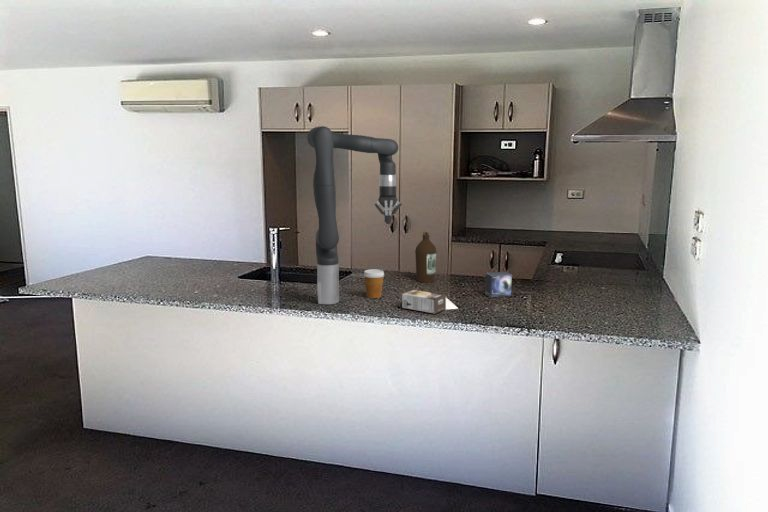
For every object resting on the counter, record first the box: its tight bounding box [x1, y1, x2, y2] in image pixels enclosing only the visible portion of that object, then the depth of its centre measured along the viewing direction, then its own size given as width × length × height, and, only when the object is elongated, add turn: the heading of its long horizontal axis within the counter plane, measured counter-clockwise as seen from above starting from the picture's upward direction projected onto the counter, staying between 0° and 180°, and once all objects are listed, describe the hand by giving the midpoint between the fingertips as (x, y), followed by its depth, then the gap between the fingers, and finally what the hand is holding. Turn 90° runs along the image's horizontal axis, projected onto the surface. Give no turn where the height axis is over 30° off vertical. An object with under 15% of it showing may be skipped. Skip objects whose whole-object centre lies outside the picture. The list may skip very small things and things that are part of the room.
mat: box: [445, 297, 459, 310], centre depth 252 cm, size 16×18×1 cm
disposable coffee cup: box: [363, 268, 385, 299], centre depth 263 cm, size 10×10×12 cm
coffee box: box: [401, 289, 447, 314], centre depth 242 cm, size 9×6×16 cm
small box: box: [484, 271, 513, 299], centre depth 265 cm, size 11×6×10 cm, turn 105°
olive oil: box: [414, 231, 437, 284], centre depth 294 cm, size 11×11×25 cm
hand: (387, 223), depth 262 cm, fingers closed
